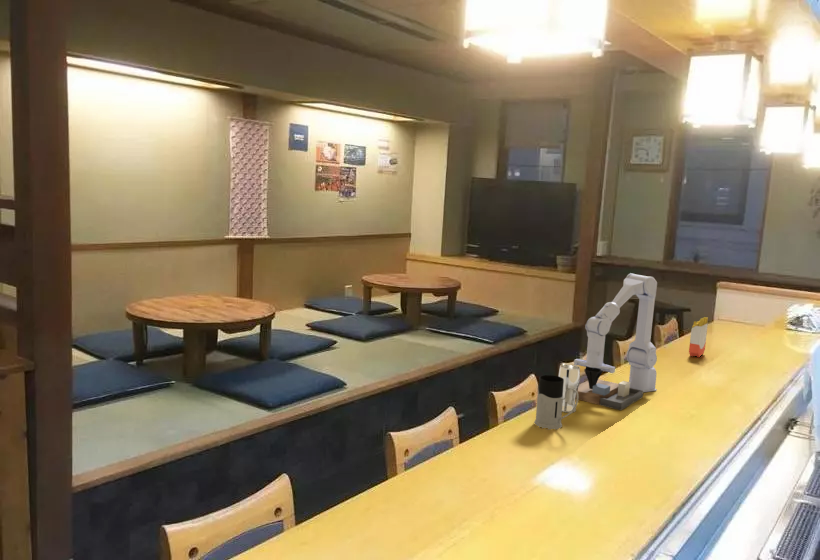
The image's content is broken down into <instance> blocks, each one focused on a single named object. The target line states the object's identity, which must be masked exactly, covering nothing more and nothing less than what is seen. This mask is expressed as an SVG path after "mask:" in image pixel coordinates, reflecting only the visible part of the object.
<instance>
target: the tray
mask: <svg viewBox="0 0 820 560" xmlns="http://www.w3.org/2000/svg"><path fill="white" fill-rule="evenodd" d="M617 394H618V393H616V394H614V395H612V396H611V397H609V398H607V399H605V398H600V405H599V406H601V407H606V408H611V409H615V410H619V411H622V410H624V409H626V408H627V407H629V406H631V405H632V404H634V403H636V402H637V401H639V400H641V399H643V395H644V392H643V391H642V390H638V389H633V388H629V395H627V396H625V397H622V396H618V395H617Z"/></svg>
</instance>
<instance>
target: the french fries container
mask: <svg viewBox="0 0 820 560" xmlns="http://www.w3.org/2000/svg"><path fill="white" fill-rule="evenodd" d="M708 318H709V317H705V316H704V317H701V318H700V319H699V320H698V321H696V320H695V321H693V325H692V326H691V331H690V339H689V347H688V354H689V356H690V357H693V356H697V357H696V358H699V357H700V356H701V355H702V354H703V355H704V353H705V350H706V344H707V342H706V341H707V333H708V326H709V325H708V324H709V323H708ZM701 357H702V356H701ZM701 357H700V358H701Z"/></svg>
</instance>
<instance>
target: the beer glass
mask: <svg viewBox="0 0 820 560" xmlns="http://www.w3.org/2000/svg"><path fill="white" fill-rule="evenodd" d="M558 377H561V378H563V379H564V384H563V398H565V392H566V390H567V389H569V388H573V389H575V390H576V391H578V387H579V384H580V381H581V367H580V366H579V365H574V364H572V363H569V364H568V363H563V364H562V363H561V364H560V366H559V371H558ZM576 400H577V399H576V392H575V391H574V390H572V389H570V390H569V391H568V392H567V397H566V399H564V400H563V404H562V413H567V414H569V413H570V412H571V411H572V410H573V408H574V407H575V404H576ZM576 411H577V407H576V408H575V410H574V411H573V412H572V413H571V414H573V413H575V412H576Z"/></svg>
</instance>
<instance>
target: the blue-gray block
mask: <svg viewBox="0 0 820 560" xmlns="http://www.w3.org/2000/svg"><path fill="white" fill-rule="evenodd" d="M592 393H596V394H600V395H604V396H605V395H607V394H608V393H610V386H608V385H604V384H600V383H598V384H596V385H593V390H592Z"/></svg>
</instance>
